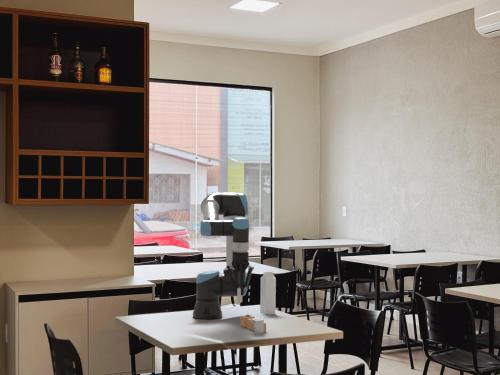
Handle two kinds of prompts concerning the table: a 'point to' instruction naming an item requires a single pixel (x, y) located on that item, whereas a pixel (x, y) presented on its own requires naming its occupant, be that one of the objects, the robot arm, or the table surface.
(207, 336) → the table surface
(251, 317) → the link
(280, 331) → the table surface
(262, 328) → the cylinder
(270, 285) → the milk
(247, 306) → the table surface
